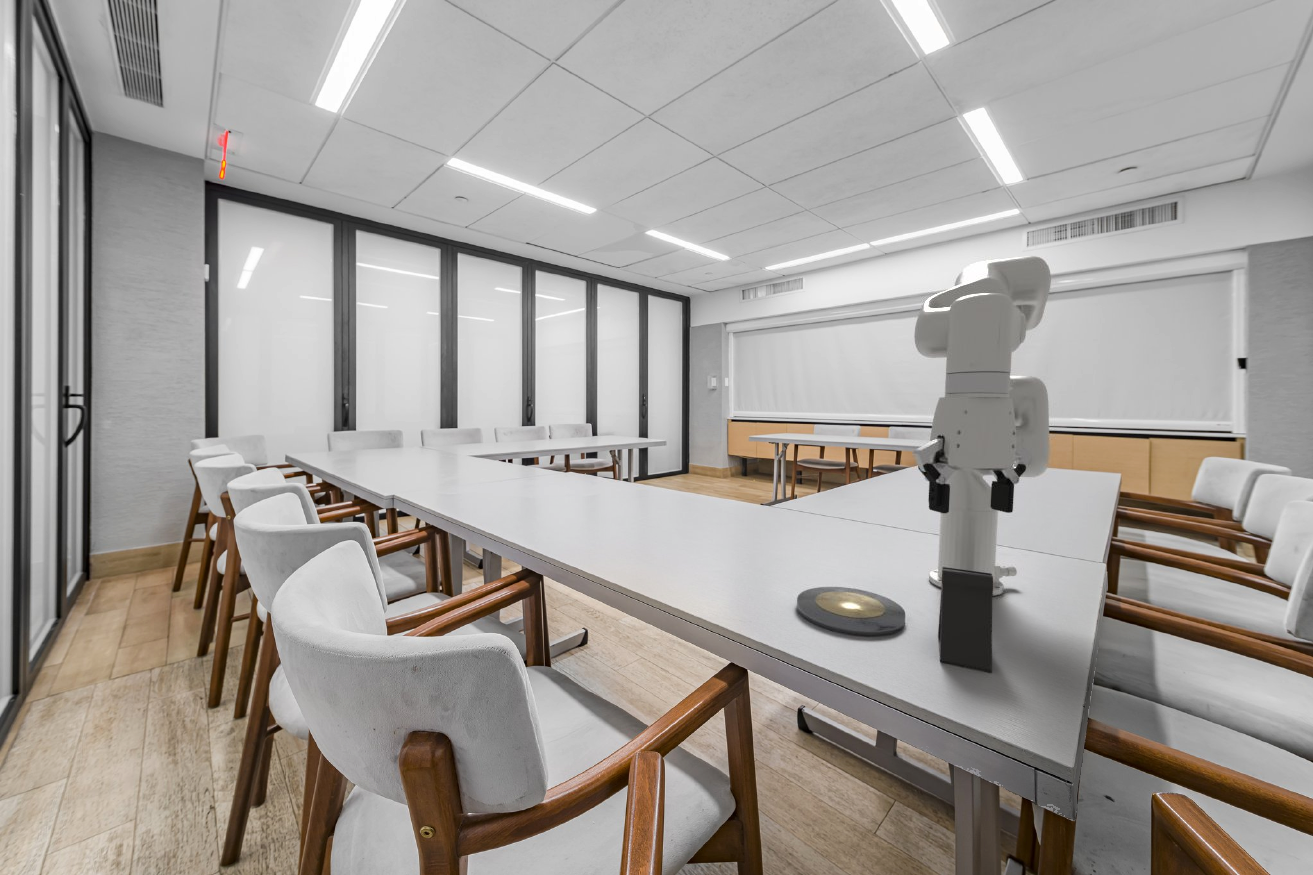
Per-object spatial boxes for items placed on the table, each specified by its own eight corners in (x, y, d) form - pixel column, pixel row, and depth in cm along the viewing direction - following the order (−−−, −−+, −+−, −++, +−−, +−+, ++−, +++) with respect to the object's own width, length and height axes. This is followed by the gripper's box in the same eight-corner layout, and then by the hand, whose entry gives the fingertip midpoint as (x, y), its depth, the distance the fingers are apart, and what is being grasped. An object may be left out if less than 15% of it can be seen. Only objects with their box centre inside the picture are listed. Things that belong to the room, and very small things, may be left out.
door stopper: (937, 636, 78) (941, 559, 77) (984, 645, 75) (988, 565, 74) (939, 662, 70) (943, 577, 69) (991, 673, 67) (996, 584, 66)
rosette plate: (867, 592, 95) (868, 583, 95) (928, 633, 79) (929, 622, 78) (781, 596, 93) (781, 587, 93) (825, 639, 76) (825, 628, 76)
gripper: (1009, 390, 75) (1003, 505, 76) (901, 387, 72) (896, 506, 73) (1056, 388, 67) (1049, 516, 68) (938, 384, 65) (931, 517, 66)
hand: (970, 511), depth 71 cm, fingers open, 9 cm apart
